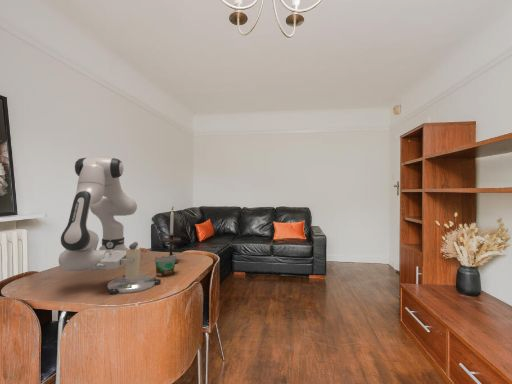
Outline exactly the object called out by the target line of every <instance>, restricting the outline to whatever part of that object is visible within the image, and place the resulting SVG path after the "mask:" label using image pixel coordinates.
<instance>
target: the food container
mask: <svg viewBox="0 0 512 384" xmlns="http://www.w3.org/2000/svg"><path fill="white" fill-rule="evenodd" d="M172 254H173V255H163V256H161V257H158V256H157V257H156V256H155V257H154V260H153V261H154V262H155V274H156V275H155V276H156V277H158V278H164V277H167V278H168V277H171V276H173V275H174V274H175V265H176V264H175V259H176V260H178V259H177V254H176V253H173V252H172Z"/></svg>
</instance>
